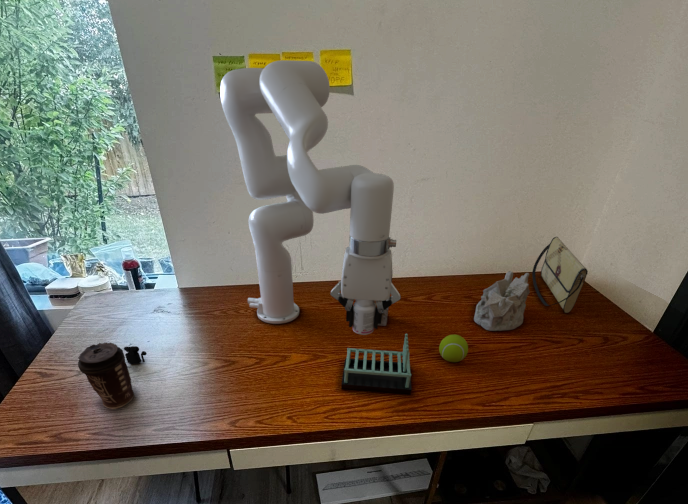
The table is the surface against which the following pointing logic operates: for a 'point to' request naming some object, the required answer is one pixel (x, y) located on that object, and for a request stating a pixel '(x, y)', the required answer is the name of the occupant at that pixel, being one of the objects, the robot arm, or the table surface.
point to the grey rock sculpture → (503, 304)
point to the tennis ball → (453, 348)
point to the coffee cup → (107, 373)
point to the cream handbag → (561, 274)
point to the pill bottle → (363, 316)
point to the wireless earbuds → (134, 355)
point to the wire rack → (378, 372)
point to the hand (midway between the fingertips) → (363, 324)
